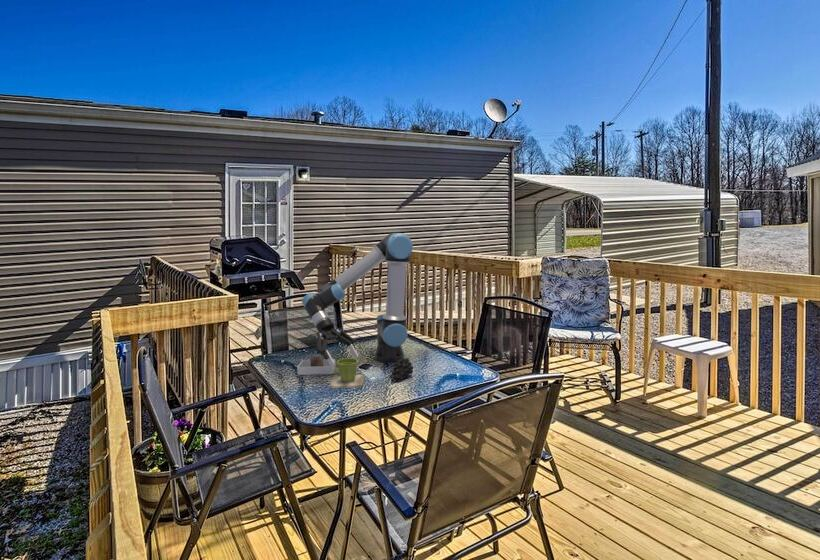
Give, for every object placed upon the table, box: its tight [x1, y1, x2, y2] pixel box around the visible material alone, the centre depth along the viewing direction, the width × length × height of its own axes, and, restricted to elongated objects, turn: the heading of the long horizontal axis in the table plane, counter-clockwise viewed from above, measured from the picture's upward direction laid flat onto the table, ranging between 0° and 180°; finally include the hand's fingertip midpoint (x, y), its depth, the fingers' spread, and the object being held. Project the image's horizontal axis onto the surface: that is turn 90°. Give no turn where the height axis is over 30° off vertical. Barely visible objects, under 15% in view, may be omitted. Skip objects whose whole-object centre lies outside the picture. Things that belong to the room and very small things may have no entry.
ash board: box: [329, 374, 366, 389], centre depth 217 cm, size 14×14×1 cm
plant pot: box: [336, 357, 359, 382], centre depth 216 cm, size 9×9×9 cm
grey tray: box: [297, 358, 337, 376], centre depth 232 cm, size 16×12×4 cm
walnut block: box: [309, 355, 324, 367], centre depth 232 cm, size 5×5×6 cm
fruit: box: [389, 357, 414, 382], centre depth 221 cm, size 9×8×15 cm
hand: (345, 361), depth 216 cm, fingers open, 13 cm apart
